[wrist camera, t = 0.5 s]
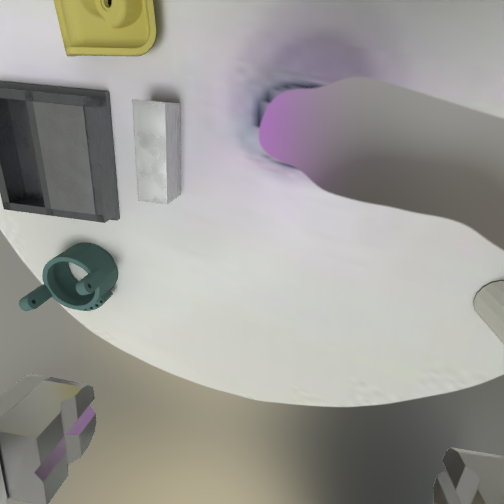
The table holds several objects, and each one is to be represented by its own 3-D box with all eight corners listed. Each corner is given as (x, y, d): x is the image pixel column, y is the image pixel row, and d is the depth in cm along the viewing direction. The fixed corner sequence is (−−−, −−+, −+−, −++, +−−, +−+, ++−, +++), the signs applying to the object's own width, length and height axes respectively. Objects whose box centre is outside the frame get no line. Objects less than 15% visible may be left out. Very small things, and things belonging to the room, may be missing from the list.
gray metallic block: (151, 100, 39) (132, 99, 35) (180, 103, 39) (165, 102, 34) (155, 190, 44) (138, 200, 39) (181, 194, 43) (167, 204, 39)
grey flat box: (1, 81, 40) (-32, 78, 36) (109, 91, 39) (87, 89, 35) (26, 206, 47) (1, 215, 43) (119, 218, 46) (102, 229, 42)
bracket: (59, 275, 51) (14, 308, 43) (76, 229, 48) (30, 255, 39) (111, 304, 52) (76, 340, 44) (131, 261, 49) (97, 292, 40)
